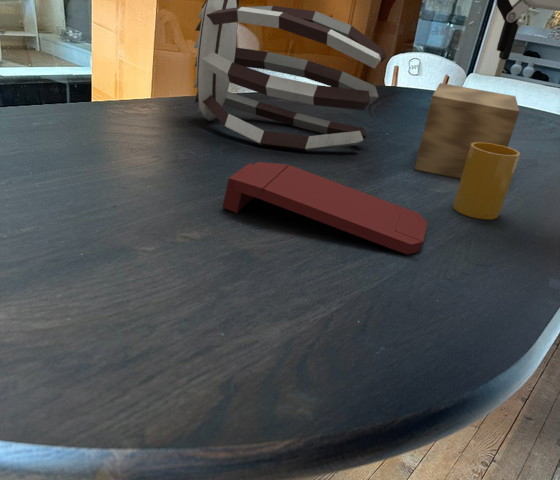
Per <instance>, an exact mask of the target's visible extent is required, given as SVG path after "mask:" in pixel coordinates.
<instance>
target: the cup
mask: <svg viewBox="0 0 560 480" xmlns="http://www.w3.org/2000/svg"><path fill="white" fill-rule="evenodd" d="M520 156H521V153H520V151H518V150H516V149H514V148H512V147H509V146H508V147H506V146H502V145H498V144H492V143H485V142H474V143H471V145H470V149H469V152H468V155H467V159H466V162H465V166H464V169H463V172H462V176H461V179H460V180H459V182H458V186H457V189H456V193H455V197H454V200H453V204H452V209H453V210H454V211H456V212H457V213H459V214H461V215H463V216H466V217H470V218H473V219H479V220H496V219H498V218H499V217H500V214H501V213H502V209H503V206H504V203H505V200H506V198H507V194H508V192H509V188H510V187H511V183H512V180H513V177H514V174H515V171H516V168H517V167H518V165H517V164H518V162H519V160H520Z"/></svg>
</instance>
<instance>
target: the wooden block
mask: <svg viewBox="0 0 560 480" xmlns="http://www.w3.org/2000/svg"><path fill="white" fill-rule="evenodd" d="M519 114H520V109H519V105H518V101H517V96H516V95H511V94H506V93H499V92H494V91H489V90H483V89H478V88H471V87H466V86H459V85H453V84H450V83H443V82H439V84H438V86H437V87H436V89H435V90H434V92H433V94H432V96H431V99H430V104H429V107H428V112H427V117H426V120H425V124H424V128H423V131H422V137H421V140H420V145H419V148H418V152H417V157H416V161H415V165H414V170H415V171H419V172H424V173H429V174H433V175H434V174H435V175H440V176H444V177H449V178H454V179H461V176H462V172H463V169H464V166H465V162H466V159H467V155H468V152H469V149H470V145H471V143H474V142H485V143H492V144H498V145H502V146H506V147H509V144H510V142H511V138H512V135H513V132H514V129H515V126H516V124H517V120H518V117H519Z"/></svg>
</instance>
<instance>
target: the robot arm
mask: <svg viewBox="0 0 560 480" xmlns="http://www.w3.org/2000/svg"><path fill="white" fill-rule="evenodd" d="M495 5H496V7H497V8H498V11H499V13H500V14H501V16H502V20H503V21H504V22H503V26H502V29H501V32H500V36H499V40H498V43H497V45H496V46H497V47H496V51H498V52H499V55H498V58H500V59H501V60H504V61H507V60H509V59H510V56H511V53H512V48H513V45H514V42H515V39H516V36H517V33H518V29H519V24H518V19H519V18H520V17H521V16H522V15H523V14H525V13H526V12H527V11H528V10H529V9H531V8H534V9H535V8H537V9H543V10H549V11H553V12H554V11H556V12H560V0H517V1H516V2H515V3H514V4H511V2H510V0H495Z"/></svg>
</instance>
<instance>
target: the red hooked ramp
mask: <svg viewBox="0 0 560 480" xmlns="http://www.w3.org/2000/svg"><path fill="white" fill-rule="evenodd" d="M254 198H256V199H260V200H262V201H264V202H266V203H269V204H272V205H274V206H276V207H280V208H282V209H285V210H288V211H291V212H293V213H295V214H298V215H301V216H304V217H306V218H309V219H311V220H314V221H317V222H320V223H322V224H324V225H328V226H330V227H332V228H336V229H338V230H341V231H342V232H346V233H348V234H351V235H354V236H356V237H359V238H362V239H365V240H368V241H370V242H372V243H375V244H377V245H380V246H383V247H386V248H387V249H391V250H394V251H396V252H398V253H402V254H404V255H410V254H415V253H419V252H420V251H421V248H422V246H423V244H424V241H425V238H426V237H425V236H426V232H427V227H428V221H427V220H426V219H425V218H424V217H423V216H422V214H420V213H419V212H417V211H414V210H412V209H408V208H407V207H404V206H400V205H398V204H396V203H392V202H390V201H387V200H384V199H382V198H379V197H377V196H374V195H371V194H368V193H366V192H363V191H360V190H357V189H355V188H352V187H350V186H347V185H344V184H342V183H338V182H336V181H333V180H332V179H328V178H325V177H323V176H320V175H317V174H315V173H312V172H310V171H306V170H304V169H302V168H299V167H296V166H293V165H290V164H286V163H285V164H284V163H275V162H263V161H257V162H255V163H251V162H249V163H247V164H246V165H244V166H243V167H242V168H240V169H239V170H237V171H236V172H235V173H233V174H232V175H231V176H229V177H228V180H227V185H226V188H225V193H224V198H223V203H222V208H223V209H225V210H228V211H231V212H233V213H236V214H237V213H239V212H240V211H241V210H242V209H243V208H244V207H245V206H246V205H247V204H249V203H250V201H252V200H253V199H254Z"/></svg>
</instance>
